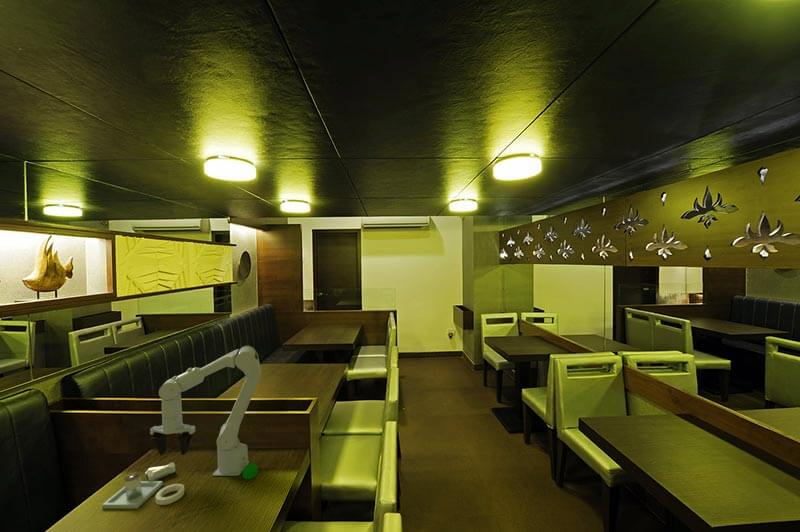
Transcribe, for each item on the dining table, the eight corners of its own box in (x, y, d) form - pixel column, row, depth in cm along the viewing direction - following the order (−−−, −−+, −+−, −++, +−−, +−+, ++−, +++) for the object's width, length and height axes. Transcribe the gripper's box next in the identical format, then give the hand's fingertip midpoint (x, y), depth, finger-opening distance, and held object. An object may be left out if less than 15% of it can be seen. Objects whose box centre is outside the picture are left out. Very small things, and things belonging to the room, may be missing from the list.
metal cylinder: (144, 492, 113) (143, 472, 113) (132, 500, 109) (130, 480, 109) (135, 490, 114) (134, 471, 114) (123, 498, 110) (121, 478, 110)
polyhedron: (243, 475, 121) (242, 462, 121) (258, 472, 123) (257, 459, 123) (242, 484, 117) (241, 470, 116) (257, 480, 118) (257, 467, 118)
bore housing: (189, 488, 115) (189, 483, 115) (173, 504, 107) (173, 499, 107) (167, 488, 115) (166, 483, 115) (150, 504, 108) (149, 499, 108)
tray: (162, 485, 117) (162, 481, 117) (137, 508, 106) (137, 504, 106) (131, 485, 117) (130, 481, 117) (102, 509, 106) (102, 504, 106)
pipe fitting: (142, 480, 121) (149, 486, 117) (142, 468, 121) (148, 474, 117) (168, 468, 127) (175, 474, 123) (168, 458, 127) (175, 463, 123)
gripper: (199, 409, 123) (201, 446, 123) (159, 409, 123) (161, 447, 123) (187, 418, 116) (188, 458, 116) (144, 419, 116) (146, 458, 116)
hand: (173, 453), depth 119 cm, fingers open, 7 cm apart
